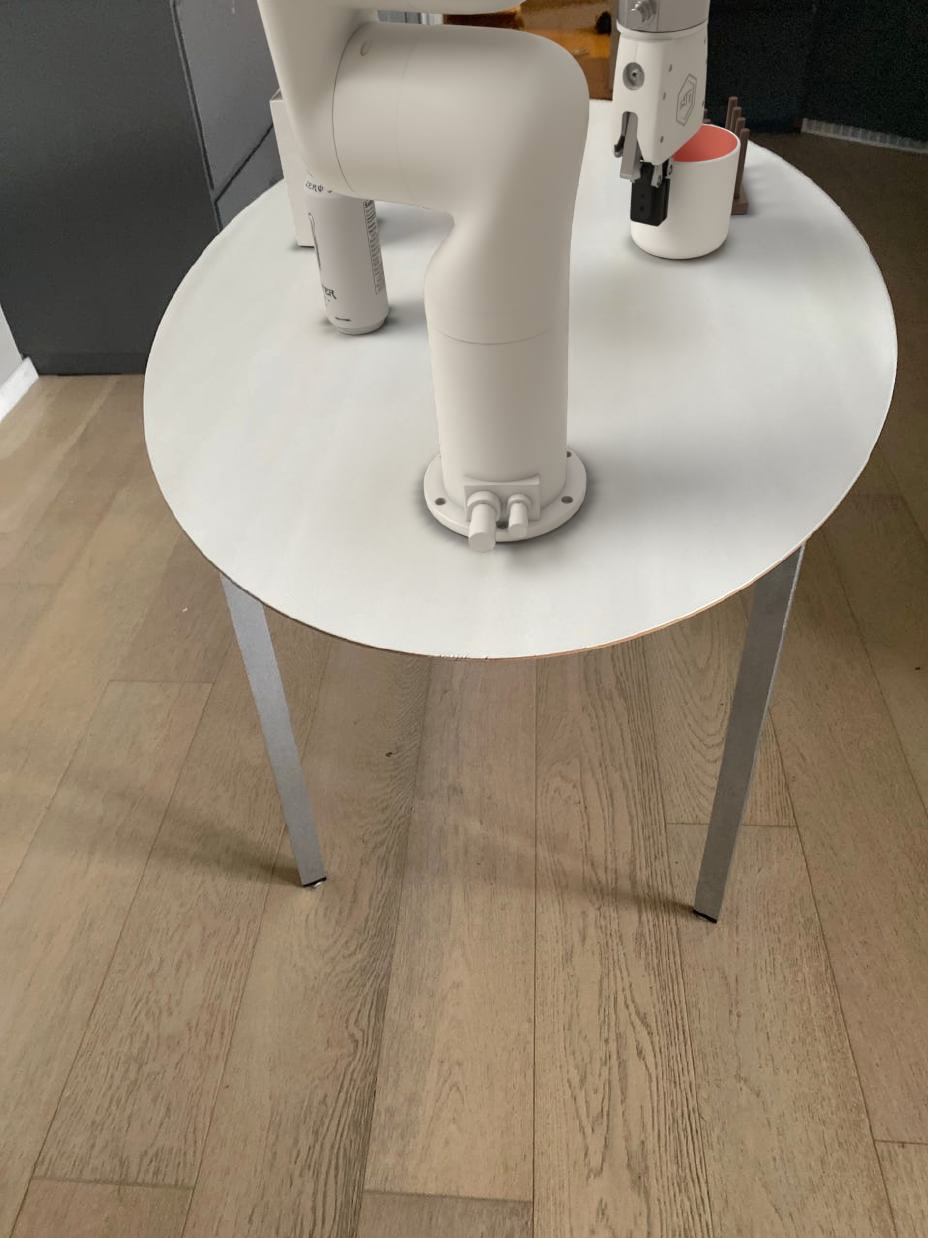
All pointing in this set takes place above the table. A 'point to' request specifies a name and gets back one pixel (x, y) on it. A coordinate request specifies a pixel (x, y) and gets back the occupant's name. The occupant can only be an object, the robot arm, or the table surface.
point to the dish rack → (737, 127)
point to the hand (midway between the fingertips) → (648, 219)
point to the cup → (696, 198)
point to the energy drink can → (347, 258)
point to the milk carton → (292, 170)
